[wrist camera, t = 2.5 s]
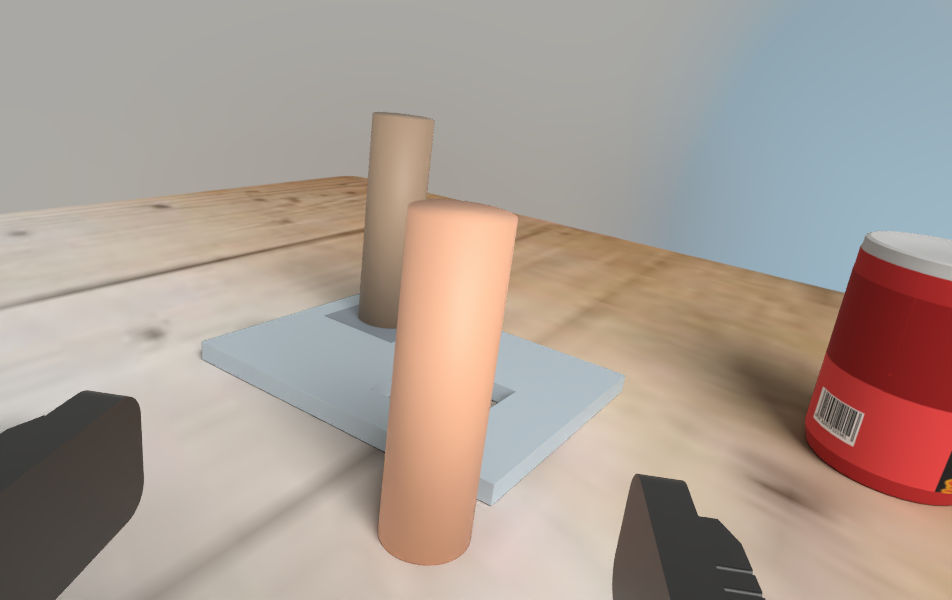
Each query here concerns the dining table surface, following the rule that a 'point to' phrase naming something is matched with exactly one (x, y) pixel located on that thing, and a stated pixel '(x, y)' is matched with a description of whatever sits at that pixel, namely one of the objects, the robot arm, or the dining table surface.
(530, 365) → the board
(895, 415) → the canned food
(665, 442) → the dining table surface
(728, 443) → the dining table surface
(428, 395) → the wooden peg
